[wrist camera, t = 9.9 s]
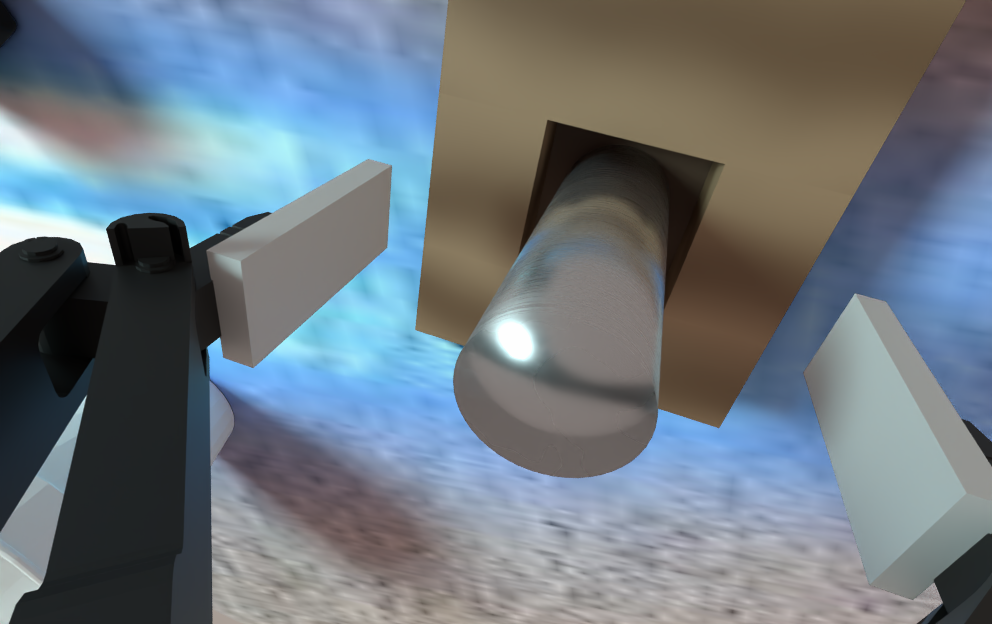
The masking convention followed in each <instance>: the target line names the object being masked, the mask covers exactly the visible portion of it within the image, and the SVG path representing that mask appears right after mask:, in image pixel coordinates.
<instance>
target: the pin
mask: <svg viewBox="0 0 992 624" xmlns="http://www.w3.org/2000/svg"><path fill="white" fill-rule="evenodd" d="M669 206H670V189H669V184H668V180H667V177H666V175H665V173H664V171H663V169H662V168H661V166H660V165H659V164H658V163H657V162H656V161H655V160H654V159H653V158H652V157H651V156H650V155H648V154H647V153H645V152H643V151H641V150H639V149H637V148H634V147H631V146H626V145H608V146H603V147H599V148H597V149H594V150H592V151H590V152H588V153H587V154H585V155H584V156H582V157H581V158H580V159H579V160H578V161H577V162H576V163H575V164H574V165H573V166H572V168H571V169H570V171H569V172H568V174H567V175H566V177H565V179H564V180H563V182H562V184H561V185H560V187H559V189H558V191H557V192H556V194H555V196H554V197H553V199H552V201H551V202H550V204H549V206H548V207H547V209H546V211H545V212H544V214H543V216H542V217H541V219H540V221H539V222H538V224H537V226H536V227H535V229H534V231H533V232H532V234H531V236H530V237H529V239H528V241H527V242H526V244H525V246H524V247H523V249H522V251H521V252H520V254H519V256H518V257H517V259H516V261H515V262H514V264H513V266H512V267H511V269H510V271H509V272H508V274H507V276H506V277H505V279H504V281H503V282H502V284H501V286H500V287H499V289H498V291H497V292H496V294H495V296H494V297H493V299H492V301H491V302H490V304H489V306H488V307H487V309H486V311H485V312H484V314H483V316H482V317H481V319H480V321H479V322H478V324H477V326H476V327H475V329H474V331H473V332H472V334H471V336H470V337H469V339H468V341H467V343H466V344H465V346H464V348H463V349H462V351H461V353H460V355H459V357H458V359H457V362H456V365H455V369H454V378H453V385H454V393H455V398H456V402H457V404H458V407H459V410H460V412H461V414H462V416H463V417H464V419H465V421H466V422H467V424H468V425H469V427H470V428H471V430H472V431H473V432H474V433H475V434H476V435H477V436H478V438H479V439H480V440H481V441H483V442H484V443H485V444H486V445H487V446H488V447H489V448H491V449H492V450H493V451H494V452H496V453H497V454H499V455H500V456H502V457H503V458H505V459H507V460H508V461H510V462H512V463H514V464H516V465H518V466H521V467H523V468H526V469H528V470H531V471H534V472H538V473H541V474H545V475H550V476H556V477H565V478H583V477H592V476H598V475H602V474H605V473H609V472H612V471H614V470H617V469H619V468H621V467H623V466H625V465H626V464H628V463H629V462H631V461H632V460H634V459H635V458H636V457H637V456H638V455H639V454H640V453H641V452H642V451H643V450H644V449H645V448H646V446H647V445H648V443H649V441H650V440H651V438H652V436H653V433H654V430H655V428H656V422H657V417H658V399H659V382H660V364H661V347H662V329H663V312H664V294H665V277H666V259H667V242H668V224H669Z"/></svg>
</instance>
